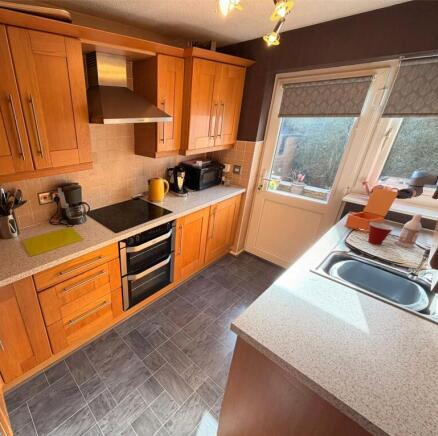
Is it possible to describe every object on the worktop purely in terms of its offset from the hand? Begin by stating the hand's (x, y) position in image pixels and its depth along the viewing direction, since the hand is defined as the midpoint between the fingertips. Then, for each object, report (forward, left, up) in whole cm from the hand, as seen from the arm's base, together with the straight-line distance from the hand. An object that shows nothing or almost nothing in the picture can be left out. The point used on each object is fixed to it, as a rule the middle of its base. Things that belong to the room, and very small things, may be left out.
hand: (386, 197), depth 160 cm
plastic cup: (-38, 0, -22) cm, 44 cm away
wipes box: (-11, +7, -21) cm, 25 cm away
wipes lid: (-2, +3, -4) cm, 5 cm away
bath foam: (-30, -13, -22) cm, 39 cm away
